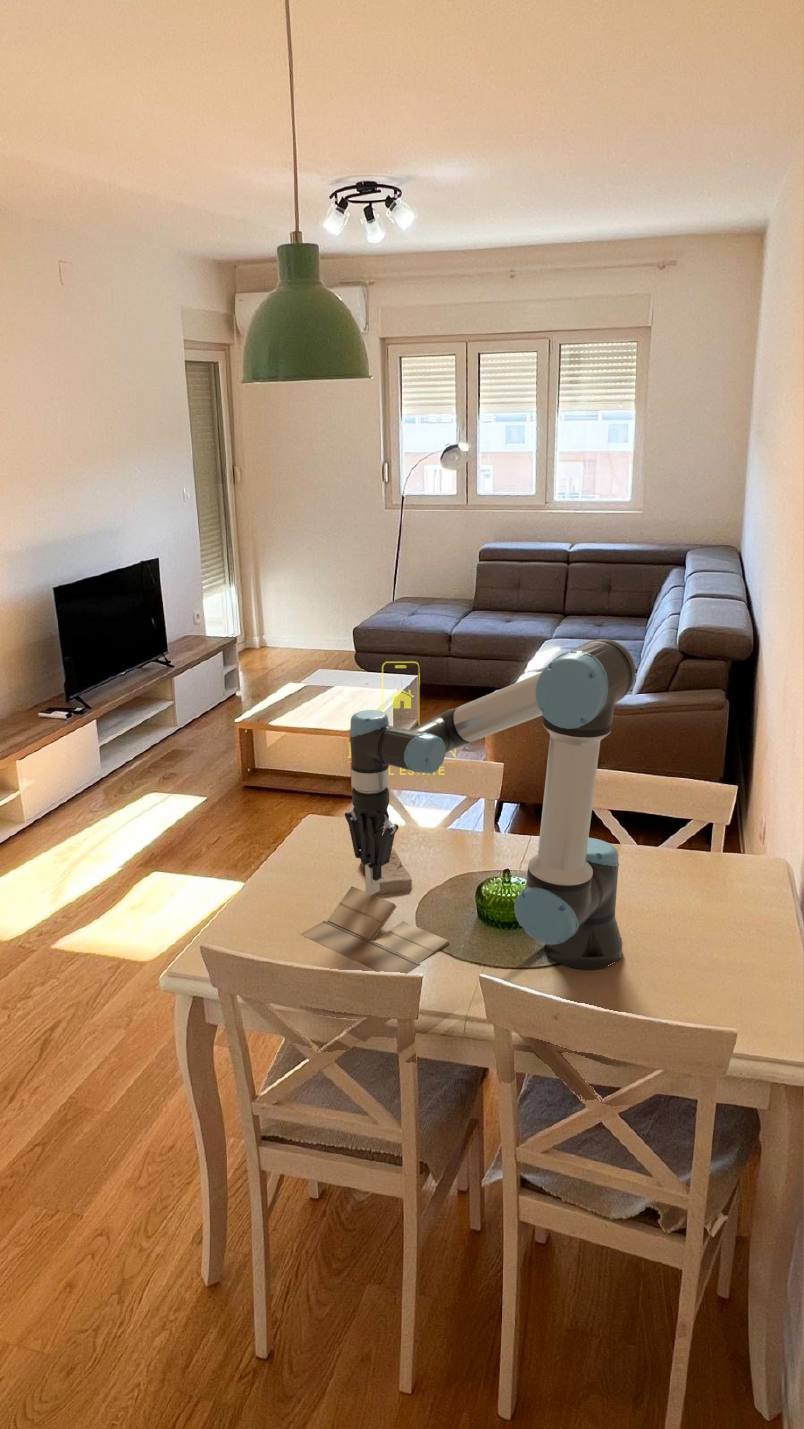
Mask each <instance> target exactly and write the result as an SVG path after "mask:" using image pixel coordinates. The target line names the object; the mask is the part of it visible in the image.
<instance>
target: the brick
mask: <svg viewBox="0 0 804 1429" xmlns="http://www.w3.org/2000/svg"><path fill="white" fill-rule="evenodd" d="M360 865H361V868H362V869H363V863H362V861H361V860H360ZM381 875H382V877H381V879H380V891H378V892H376V893H375V894H377V895H385V894H392V893H399V892H407V891H412V889H413V879H412V877H411V874H410V872H409V871H408V870H407V869H406V868H405V867H404V865H403V864H402V860H400V857H399V855H398V852H397V851H396V848H393V847H392V850H391V855H390V860H389V863H387V864H385V865H383V866H381Z"/></svg>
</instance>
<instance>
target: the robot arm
mask: <svg viewBox="0 0 804 1429" xmlns="http://www.w3.org/2000/svg"><path fill="white" fill-rule="evenodd" d="M634 660H635V659H634V658H633V656H632V654H631V653H630V652H629V650H628V649H627V648H626V647H625V646H624V645H622V644H621V643H619V642H617V641H615V640H614V639H613V640H611V639H607V638H599V639H593V640H590V641H588V642H585V643H584V644H582V645H580V646H578V647H576V648H574V649H572V650H570V651H566V652H564V653H561V654H559V655H558V656H556V657H555V658H553V659H552V660H551V661H550V662H549V663H548V664H547V665H546V666H545V667H544V668H543V669H542V671H541V672H539V673H537V674H534V675H531V676H529V677H527V678H525V679H522V680H520V681H518V682H515V683H513V684H510V685H508V686H505V687H503V688H500V689H498V690H496V691H493V692H491V693H489V694H488V693H487V694H486V695H484V696H481V697H478V698H476V699H475V700H471V701H468V702H466V703H464V704H462V705H460V706H458V707H455V708H451V709H447V710H445V711H443V712H441V713H439V714H438V715H436V716H434V717H432V718H430V719H428V720H427V721H424V722H421V723H420V724H419V725H417V726H414V727H413V728H409V729H406V728H400V727H396V726H392V725H390V721H389V716H388V714H386V713H385V712H384V711H380V710H378V709H377V710H375V709H367V710H361V711H358V712H355V713H354V714H353V715H352V716H351V718H350V731H349V739H350V740H349V742H350V744H349V745H350V756H351V766H350V767H351V772H350V774H351V804H352V806H353V808H352V809H351V810H350V811H349V810H348V811H347V812H345V813H344V818H345V819H346V821H347V824H348V828H349V833H350V838H351V844H352V847H353V852H354V857H355V858H356V859H360V862H361V861H362V863H363V868H362V870H363V871H362V873H363V876H364V877H365V881H364V882H365V884H364V885H365V892H366V893H367V894H369V895H374V894H377V893H376V892H378V891H380V879H381V877H382V875H381V866H383V865H385V864H387V863H389V860H390V855H391V850H392V848H393V844H394V839H395V835H396V833H397V831H399V830H398V829H399V825H398V824H397V823H394V824H393V823H392V822H391V820H390V816H389V815H390V814H389V813H388V806H389V805H390V787H389V784H390V773H389V772H390V770H389V766H392V767H396V768H400V769H404V770H408V771H411V772H413V773H417V774H418V773H420V774H422V773H423V774H427V775H430V774H433V773H437V772H438V770H440V768H441V766H442V765H443V763H444V761H445V757H446V754H447V753H449V752H451V751H453V750H455V749H457V748H459V747H462V746H464V745H468V744H470V743H472V742H476V741H478V740H480V739H482V738H486V737H488V736H491V735H493V734H497V733H499V732H501V731H505V730H507V729H509V728H512V727H515V726H518V725H520V724H522V723H525V722H528V721H531V720H534V719H536V718H538V717H541V716H542V727H543V728H544V729H545V731H546V732H547V733H549V735H550V736H549V745H548V752H547V753H548V754H547V762H546V763H547V764H546V773H545V782H544V783H545V784H544V791H543V792H544V793H543V801H542V811H541V820H540V829H539V830H540V831H539V840H538V846H537V847H538V850H537V854H535V855H534V856H533V857H531V858H530V859H529V861H528V865H527V872H526V883H525V887H524V888H523V889H522V890H520V891H519V893H518V895H517V897H515V898H516V899H515V901H514V907H513V908H514V915H515V918H516V920H517V922H518V924H519V926H520V927H522V928H523V929H524V932H525V933H526V934H527V935H528V936H530V937H531V938H533V939H534V940H535V941H538V942H539V943H540V942H541V943H543V944H544V950H545V952H546V954H547V953H548V954H547V955H548V957H550V958H551V959H552V960H554V961H555V962H557V963H558V962H559V964H560V965H563V966H566V967H569V968H574V969H578V970H599V968H600V969H604V968H603V967H605V968H607V967H606V966H608V965H610V964H612V963H614V962H616V961H617V960H618V959H619V958H620V956H621V957H622V955H623V940H622V939H623V938H622V936H621V932H620V929H619V925H618V922H617V918H616V904H617V894H618V893H617V892H618V891H617V890H618V889H617V888H618V876H619V874H618V873H619V867H620V863H619V852H618V850H617V848H616V847H615V846H614V845H612V844H611V843H610V842H607V841H605V840H602V839H598V838H593V837H590V836H589V835H590V828H591V820H592V813H593V804H594V796H595V788H596V780H597V771H598V764H599V755H600V749H601V748H600V747H601V741H602V740H603V739H604V738H606V737H607V736H609V734H611V732H612V727H613V726H612V725H613V718H614V711H615V710H614V709H615V704H617V703H618V702H619V701H621V700H622V699H624V697H626V696H627V695H628V694H629V692H630V691H631V689H632V687H633V686H634V683H635V680H636V672H637V670H636V668H637V667H636V664H635V661H634ZM621 954H622V955H621ZM620 959H621V958H620ZM620 959H619V960H620ZM619 960H618V961H619ZM618 961H617V962H618ZM617 962H616V963H617ZM614 964H615V963H614ZM608 967H609V966H608Z"/></svg>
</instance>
